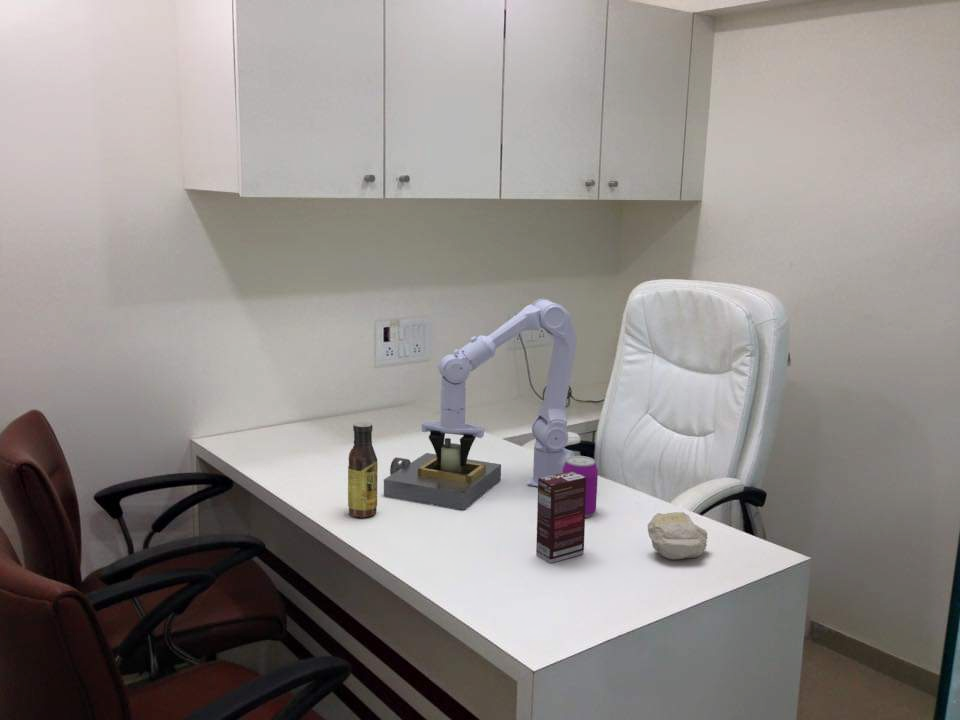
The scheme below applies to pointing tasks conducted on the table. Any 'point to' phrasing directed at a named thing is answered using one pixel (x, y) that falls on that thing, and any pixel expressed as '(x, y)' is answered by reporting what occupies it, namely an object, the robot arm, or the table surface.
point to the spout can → (451, 457)
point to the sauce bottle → (362, 473)
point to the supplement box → (561, 516)
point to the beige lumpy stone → (676, 536)
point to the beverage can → (590, 471)
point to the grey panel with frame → (440, 481)
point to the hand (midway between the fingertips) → (452, 463)
